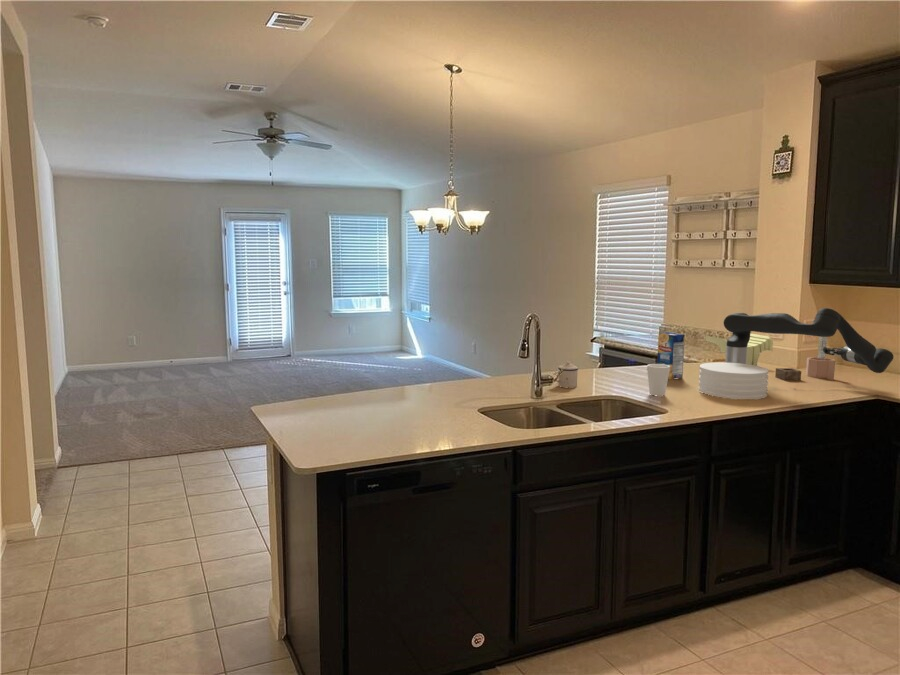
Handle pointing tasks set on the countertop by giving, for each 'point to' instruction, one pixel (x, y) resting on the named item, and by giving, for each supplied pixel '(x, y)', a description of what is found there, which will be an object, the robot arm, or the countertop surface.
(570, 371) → the teacup with lid
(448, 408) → the countertop surface
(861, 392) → the countertop surface
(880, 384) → the countertop surface
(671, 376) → the beverage box
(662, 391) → the foam cup
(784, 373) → the tong rest
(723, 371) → the plate stack
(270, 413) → the countertop surface
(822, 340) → the tongs
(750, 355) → the slatted curved stool
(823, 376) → the utensil crock
